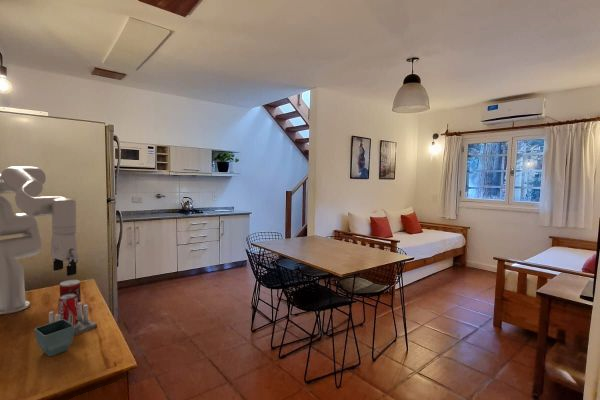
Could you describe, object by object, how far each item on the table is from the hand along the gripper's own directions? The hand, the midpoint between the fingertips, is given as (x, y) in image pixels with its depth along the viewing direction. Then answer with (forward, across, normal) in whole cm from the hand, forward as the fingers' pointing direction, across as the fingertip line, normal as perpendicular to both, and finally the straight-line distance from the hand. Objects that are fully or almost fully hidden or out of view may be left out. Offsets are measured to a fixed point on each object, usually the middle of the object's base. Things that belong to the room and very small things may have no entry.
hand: (64, 272), depth 126 cm
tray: (+22, +3, -1) cm, 22 cm away
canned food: (+23, -19, +11) cm, 32 cm away
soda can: (+21, +4, -1) cm, 21 cm away
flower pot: (+22, +17, -11) cm, 30 cm away
